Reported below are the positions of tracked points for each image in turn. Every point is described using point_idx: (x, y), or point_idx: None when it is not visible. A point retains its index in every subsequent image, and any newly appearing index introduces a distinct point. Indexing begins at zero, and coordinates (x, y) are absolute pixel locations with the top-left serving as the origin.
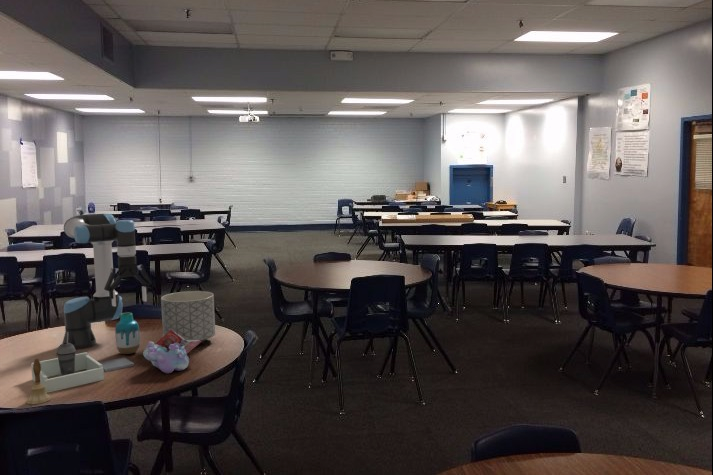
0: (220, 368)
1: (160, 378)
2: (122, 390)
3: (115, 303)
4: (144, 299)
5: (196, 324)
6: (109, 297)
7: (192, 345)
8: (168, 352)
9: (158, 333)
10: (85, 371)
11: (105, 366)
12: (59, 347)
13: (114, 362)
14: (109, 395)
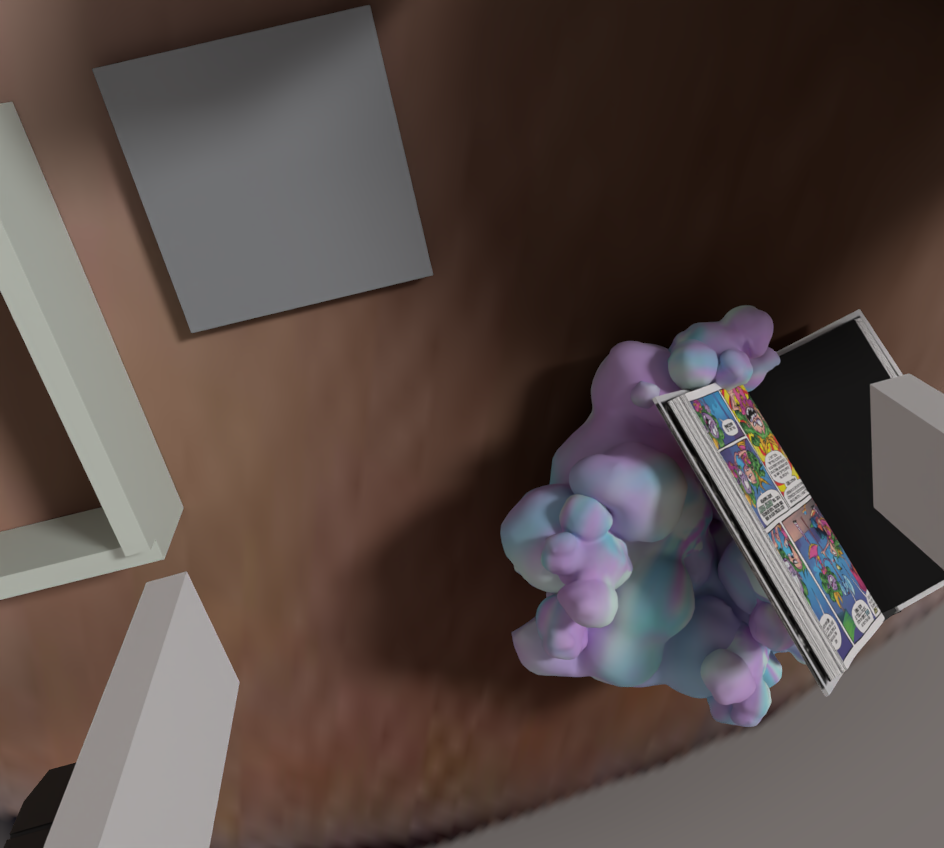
0: (919, 615)
1: None
2: (300, 739)
3: (219, 733)
4: (898, 501)
5: None
6: (29, 812)
7: None
8: (675, 683)
9: None
10: (21, 588)
11: (184, 236)
12: None
13: (267, 146)
14: (223, 782)
